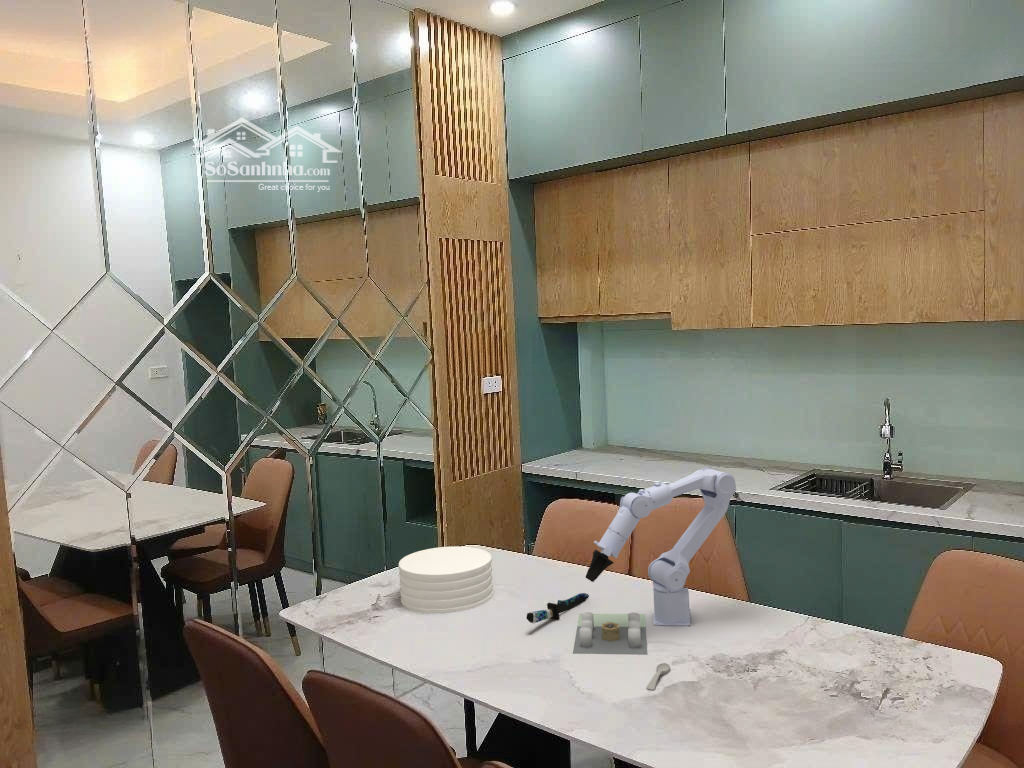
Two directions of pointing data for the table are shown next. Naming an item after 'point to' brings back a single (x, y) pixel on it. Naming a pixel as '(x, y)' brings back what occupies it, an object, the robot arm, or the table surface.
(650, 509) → the robot arm
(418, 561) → the plate stack
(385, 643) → the table surface
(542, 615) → the knife
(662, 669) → the spoon
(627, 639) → the spacer board
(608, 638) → the nut
